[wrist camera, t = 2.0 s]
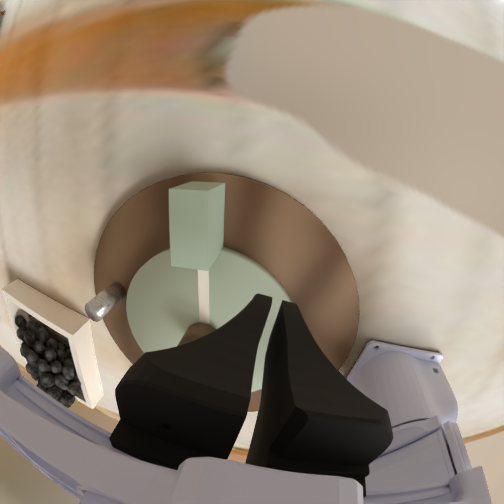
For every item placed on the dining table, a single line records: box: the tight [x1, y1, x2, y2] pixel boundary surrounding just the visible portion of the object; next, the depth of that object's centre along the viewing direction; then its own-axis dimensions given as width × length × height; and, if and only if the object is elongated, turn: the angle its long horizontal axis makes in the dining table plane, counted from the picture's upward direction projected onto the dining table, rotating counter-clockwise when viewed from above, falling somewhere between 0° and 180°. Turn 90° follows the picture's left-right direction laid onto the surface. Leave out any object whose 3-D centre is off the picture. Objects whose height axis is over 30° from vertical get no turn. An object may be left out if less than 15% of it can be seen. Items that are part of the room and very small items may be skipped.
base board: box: [94, 173, 359, 412], centre depth 22 cm, size 25×25×6 cm
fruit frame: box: [2, 279, 104, 409], centre depth 30 cm, size 15×15×4 cm
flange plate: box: [126, 181, 293, 392], centre depth 20 cm, size 20×15×4 cm
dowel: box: [85, 282, 126, 322], centre depth 23 cm, size 2×2×5 cm
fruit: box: [15, 315, 82, 408], centre depth 28 cm, size 9×8×15 cm
